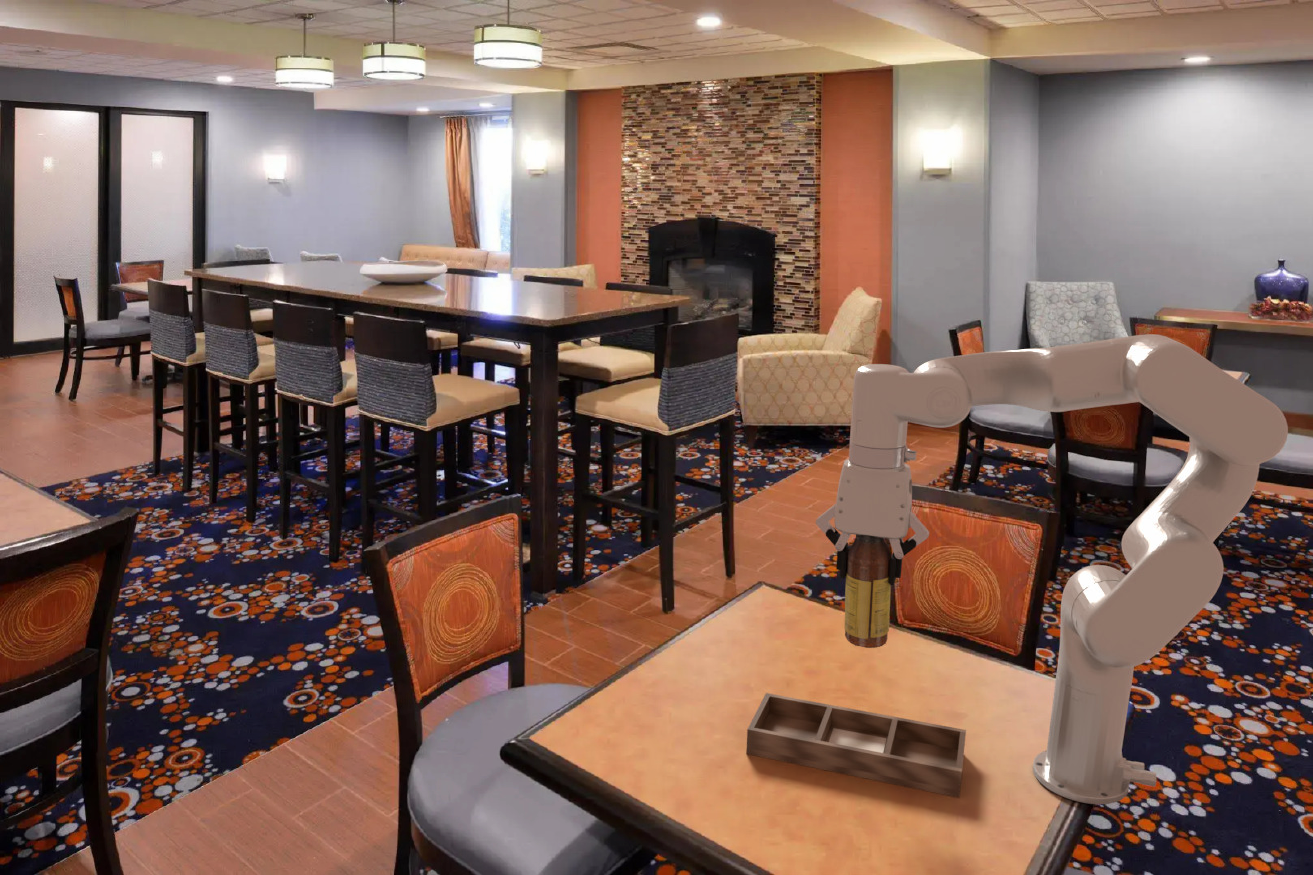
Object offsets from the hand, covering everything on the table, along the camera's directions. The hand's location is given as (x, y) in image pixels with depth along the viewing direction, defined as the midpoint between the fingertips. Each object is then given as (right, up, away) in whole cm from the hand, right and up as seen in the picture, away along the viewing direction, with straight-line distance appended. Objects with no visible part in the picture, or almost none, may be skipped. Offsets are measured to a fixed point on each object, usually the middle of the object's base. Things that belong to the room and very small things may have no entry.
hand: (868, 577), depth 139 cm
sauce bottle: (0, -10, +2) cm, 10 cm away
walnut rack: (0, -27, +7) cm, 28 cm away
